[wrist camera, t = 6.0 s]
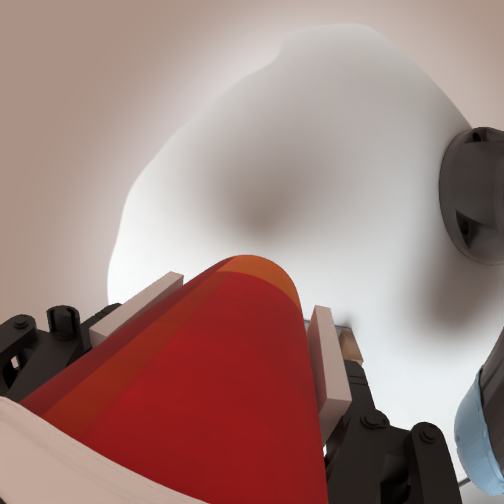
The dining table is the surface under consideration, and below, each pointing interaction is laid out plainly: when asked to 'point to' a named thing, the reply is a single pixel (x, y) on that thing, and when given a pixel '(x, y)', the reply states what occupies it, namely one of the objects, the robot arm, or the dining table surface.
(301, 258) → the dining table surface
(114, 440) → the paper cup
